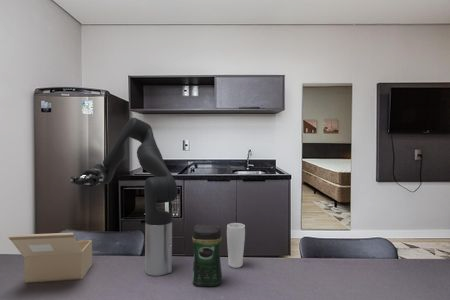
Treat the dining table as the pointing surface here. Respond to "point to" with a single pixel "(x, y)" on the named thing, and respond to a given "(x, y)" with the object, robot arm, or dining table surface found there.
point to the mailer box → (58, 265)
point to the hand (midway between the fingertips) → (80, 182)
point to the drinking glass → (235, 244)
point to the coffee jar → (207, 255)
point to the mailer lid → (46, 244)
